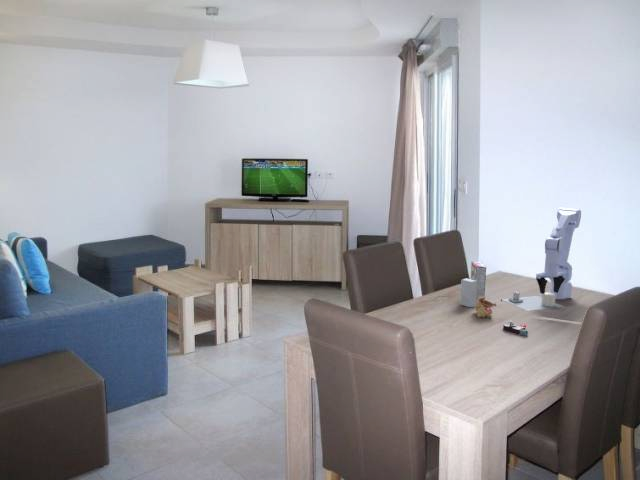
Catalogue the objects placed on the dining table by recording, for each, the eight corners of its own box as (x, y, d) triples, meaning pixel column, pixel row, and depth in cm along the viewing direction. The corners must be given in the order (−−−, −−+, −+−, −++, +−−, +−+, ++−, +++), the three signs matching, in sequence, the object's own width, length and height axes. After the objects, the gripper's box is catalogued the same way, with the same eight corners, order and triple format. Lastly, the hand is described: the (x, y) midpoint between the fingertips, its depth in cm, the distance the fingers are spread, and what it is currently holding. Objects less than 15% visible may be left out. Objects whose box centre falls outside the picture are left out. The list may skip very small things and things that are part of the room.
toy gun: (525, 338, 241) (526, 326, 240) (499, 330, 250) (500, 318, 249) (539, 333, 247) (540, 321, 246) (513, 325, 256) (514, 314, 255)
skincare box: (476, 306, 281) (478, 280, 279) (470, 307, 279) (472, 282, 276) (465, 303, 286) (467, 277, 284) (459, 304, 283) (460, 279, 281)
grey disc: (517, 298, 291) (517, 290, 291) (525, 302, 285) (526, 294, 285) (505, 299, 289) (506, 291, 288) (514, 303, 283) (515, 295, 282)
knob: (542, 302, 286) (543, 291, 285) (555, 303, 284) (556, 293, 283) (540, 305, 281) (541, 294, 280) (553, 306, 279) (554, 296, 278)
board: (537, 297, 297) (537, 295, 297) (565, 309, 279) (565, 306, 279) (500, 301, 290) (500, 299, 290) (526, 313, 272) (526, 310, 272)
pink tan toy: (489, 322, 260) (473, 305, 261) (477, 326, 270) (462, 310, 270) (501, 308, 264) (486, 291, 264) (490, 312, 273) (475, 296, 274)
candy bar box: (468, 293, 302) (471, 261, 299) (479, 294, 302) (481, 261, 299) (474, 300, 291) (476, 266, 288) (484, 300, 291) (486, 266, 288)
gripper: (544, 266, 273) (541, 296, 275) (570, 264, 278) (568, 293, 280) (534, 263, 279) (531, 292, 282) (560, 261, 284) (557, 290, 287)
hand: (549, 292), depth 281 cm, fingers open, 7 cm apart
